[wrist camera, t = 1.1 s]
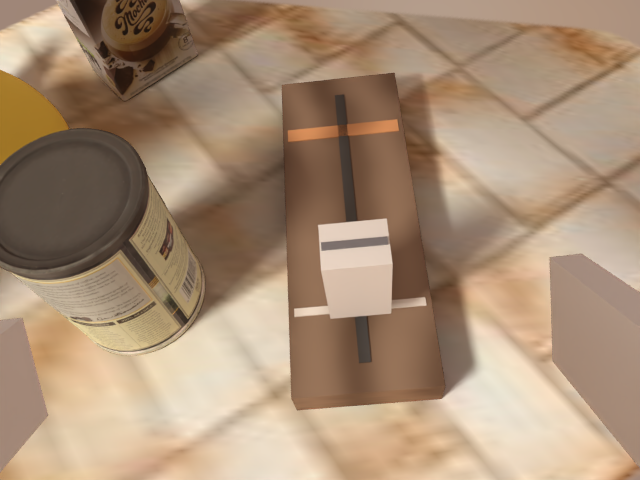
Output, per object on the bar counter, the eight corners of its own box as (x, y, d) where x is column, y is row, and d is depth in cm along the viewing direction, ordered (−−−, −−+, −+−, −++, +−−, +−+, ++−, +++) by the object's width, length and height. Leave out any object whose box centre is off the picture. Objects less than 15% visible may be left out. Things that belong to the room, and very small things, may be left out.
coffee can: (67, 267, 49) (-36, 163, 37) (186, 221, 51) (123, 105, 38) (91, 379, 44) (-19, 301, 32) (222, 325, 45) (164, 229, 33)
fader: (332, 327, 41) (320, 269, 33) (329, 287, 42) (317, 224, 35) (390, 322, 41) (392, 263, 33) (386, 282, 42) (386, 217, 35)
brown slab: (297, 410, 42) (291, 398, 39) (286, 108, 56) (281, 84, 53) (441, 398, 41) (445, 385, 39) (393, 96, 55) (394, 71, 53)
